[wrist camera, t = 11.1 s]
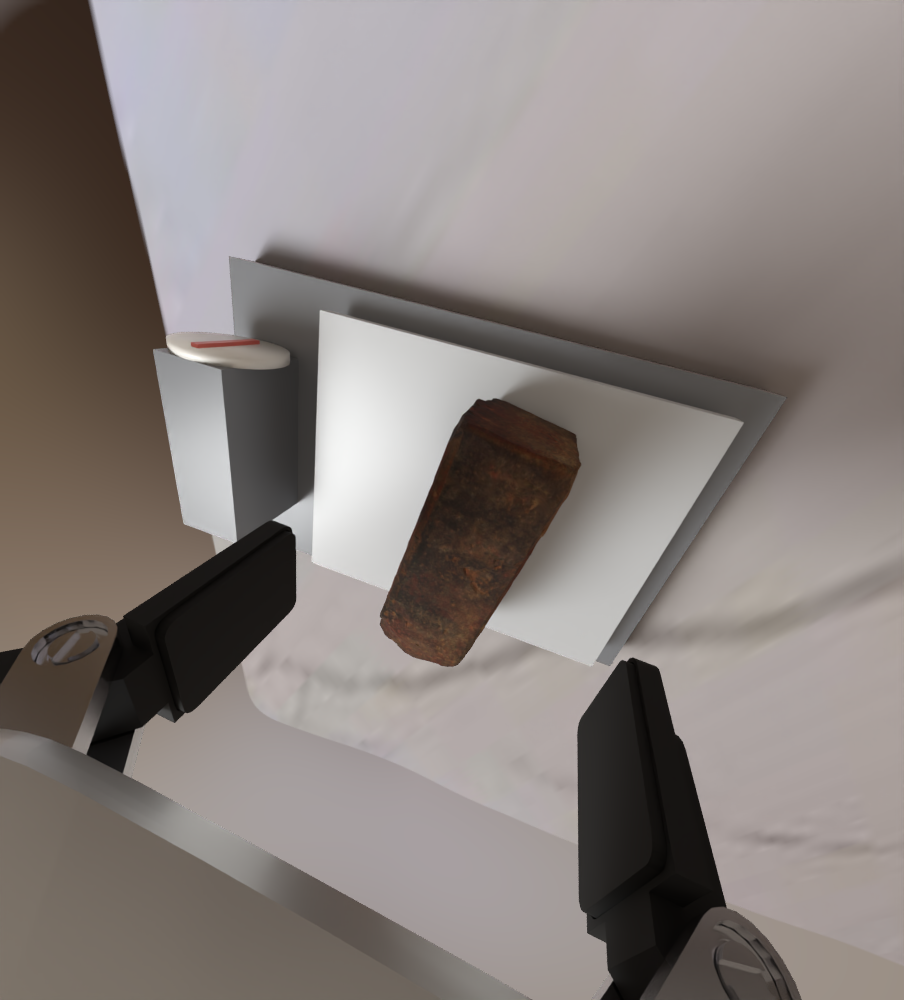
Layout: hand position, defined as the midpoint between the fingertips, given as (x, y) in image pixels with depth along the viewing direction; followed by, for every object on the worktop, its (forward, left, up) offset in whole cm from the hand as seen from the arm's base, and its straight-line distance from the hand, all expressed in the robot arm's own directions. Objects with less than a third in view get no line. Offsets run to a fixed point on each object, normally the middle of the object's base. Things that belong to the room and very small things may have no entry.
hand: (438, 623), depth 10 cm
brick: (0, +1, -7) cm, 7 cm away
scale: (+3, 0, -10) cm, 10 cm away
